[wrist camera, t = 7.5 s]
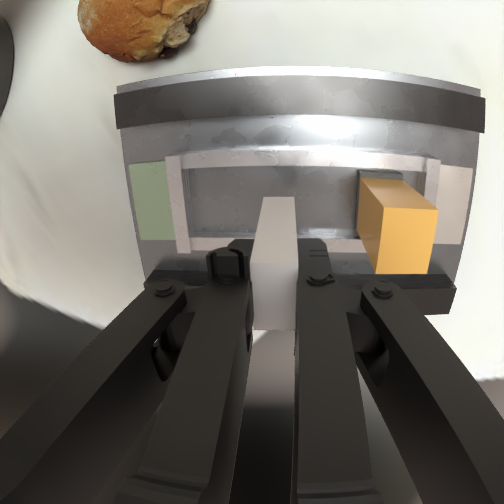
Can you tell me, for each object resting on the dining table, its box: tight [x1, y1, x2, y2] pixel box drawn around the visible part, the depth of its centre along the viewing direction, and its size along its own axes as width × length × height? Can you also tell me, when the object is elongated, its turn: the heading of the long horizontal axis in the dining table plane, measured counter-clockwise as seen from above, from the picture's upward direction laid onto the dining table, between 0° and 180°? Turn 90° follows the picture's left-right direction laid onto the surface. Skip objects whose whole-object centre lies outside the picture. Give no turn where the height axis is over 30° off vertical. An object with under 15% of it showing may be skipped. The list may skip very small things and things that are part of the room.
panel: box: [114, 66, 485, 315], centre depth 21 cm, size 26×18×4 cm
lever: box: [354, 169, 439, 274], centre depth 18 cm, size 3×4×7 cm
